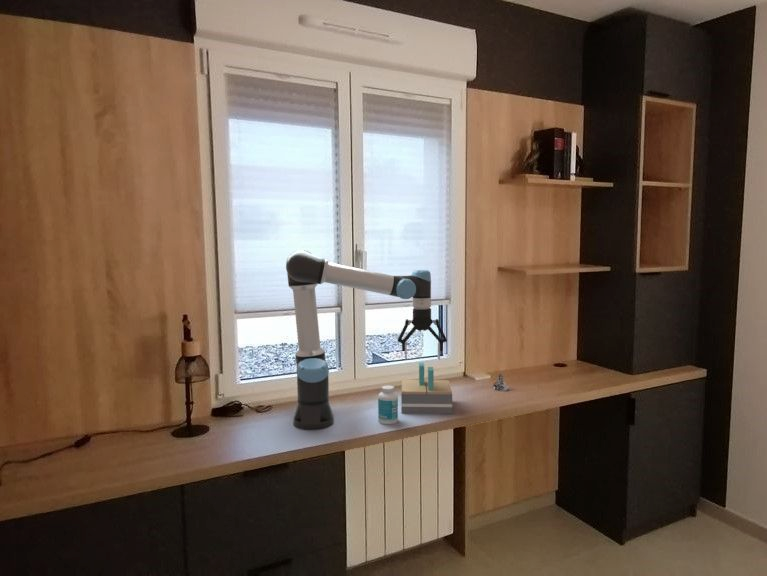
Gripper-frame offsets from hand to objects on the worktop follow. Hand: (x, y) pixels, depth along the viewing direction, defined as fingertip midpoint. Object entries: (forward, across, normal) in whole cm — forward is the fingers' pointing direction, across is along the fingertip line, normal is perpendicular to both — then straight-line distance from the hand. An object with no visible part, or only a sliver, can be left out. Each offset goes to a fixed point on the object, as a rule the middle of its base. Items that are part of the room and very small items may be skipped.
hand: (422, 358), depth 210 cm
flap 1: (+11, -4, -4) cm, 13 cm away
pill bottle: (+20, -14, -21) cm, 32 cm away
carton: (+20, +1, -4) cm, 20 cm away
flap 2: (+12, +6, -4) cm, 14 cm away
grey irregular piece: (+20, +34, +21) cm, 45 cm away
